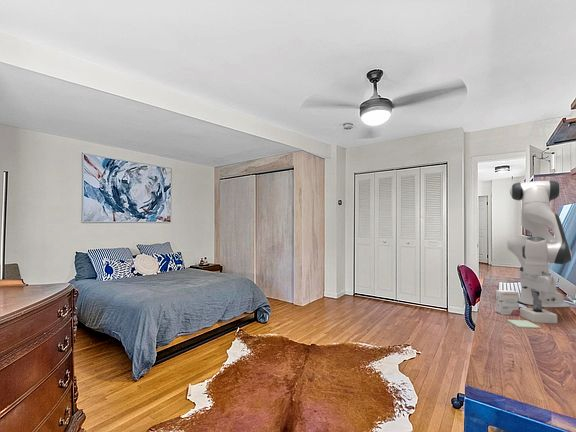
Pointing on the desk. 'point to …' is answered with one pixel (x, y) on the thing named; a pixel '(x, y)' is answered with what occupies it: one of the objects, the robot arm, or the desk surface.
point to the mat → (523, 324)
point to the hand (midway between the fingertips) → (537, 298)
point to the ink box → (507, 302)
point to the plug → (537, 302)
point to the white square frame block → (538, 315)
